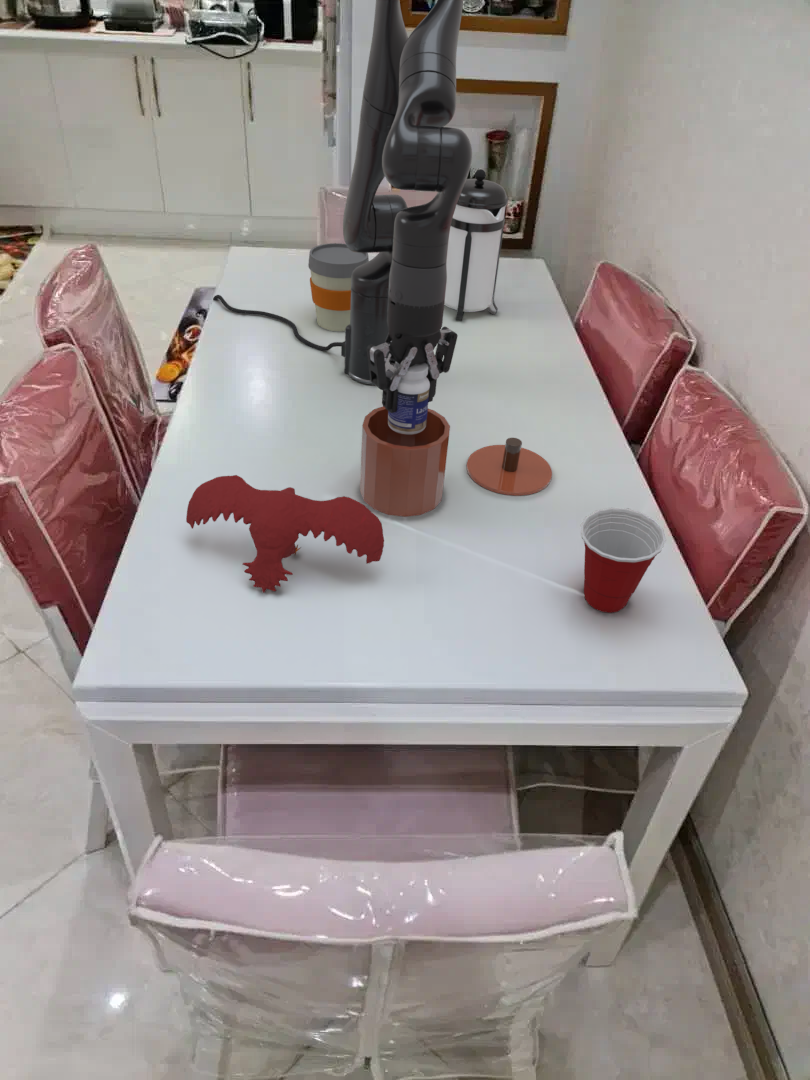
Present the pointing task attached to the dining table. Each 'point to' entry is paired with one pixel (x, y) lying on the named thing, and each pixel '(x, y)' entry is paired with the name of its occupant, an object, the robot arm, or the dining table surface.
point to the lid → (509, 469)
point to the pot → (403, 465)
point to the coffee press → (475, 246)
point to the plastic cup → (617, 555)
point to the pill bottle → (411, 401)
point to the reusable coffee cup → (333, 283)
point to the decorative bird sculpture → (285, 523)
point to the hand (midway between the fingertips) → (408, 404)
